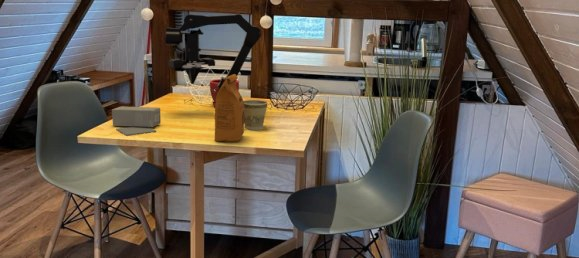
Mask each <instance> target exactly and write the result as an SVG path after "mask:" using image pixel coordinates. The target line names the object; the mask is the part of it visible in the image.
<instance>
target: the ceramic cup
mask: <svg viewBox="0 0 579 258" xmlns="http://www.w3.org/2000/svg"><path fill="white" fill-rule="evenodd" d="M243 103H244V129H246V130H250V131H259V130H262V129H263V127H264V122H265V117H266V113H267V109H268V108H267V107H268V101H266V100H260V99H244V100H243Z"/></svg>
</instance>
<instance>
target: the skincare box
mask: <svg viewBox="0 0 579 258" xmlns="http://www.w3.org/2000/svg"><path fill="white" fill-rule="evenodd" d="M111 115H112V116H111V117H112V126H114V127H149V128H153V127H156V126H158V125H160V124H161V121H162V120H161V107H150V106H149V107H148V106H147V107H146V106H123V105H122V106H118V107H116V108H113V109H111Z"/></svg>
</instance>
